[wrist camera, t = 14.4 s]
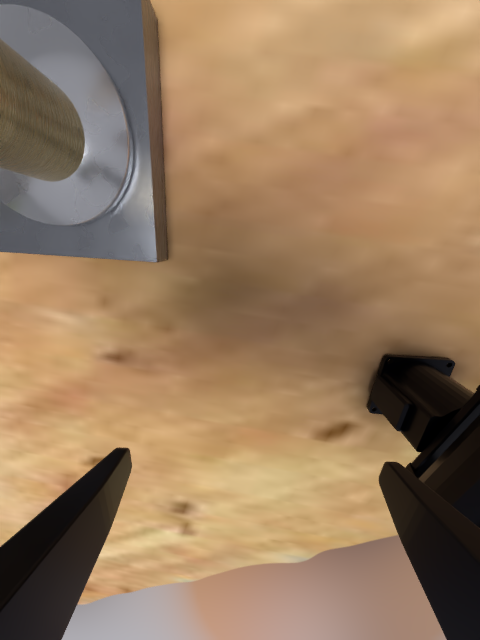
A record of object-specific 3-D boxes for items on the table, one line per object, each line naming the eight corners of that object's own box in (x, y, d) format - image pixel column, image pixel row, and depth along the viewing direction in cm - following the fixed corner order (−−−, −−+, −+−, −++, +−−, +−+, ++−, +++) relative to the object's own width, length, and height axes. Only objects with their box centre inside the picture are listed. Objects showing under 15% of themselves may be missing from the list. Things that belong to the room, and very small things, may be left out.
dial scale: (157, 19, 13) (118, -82, 9) (167, 259, 18) (145, 265, 14) (-84, 0, 13) (-237, -113, 9) (-10, 247, 18) (-88, 249, 14)
